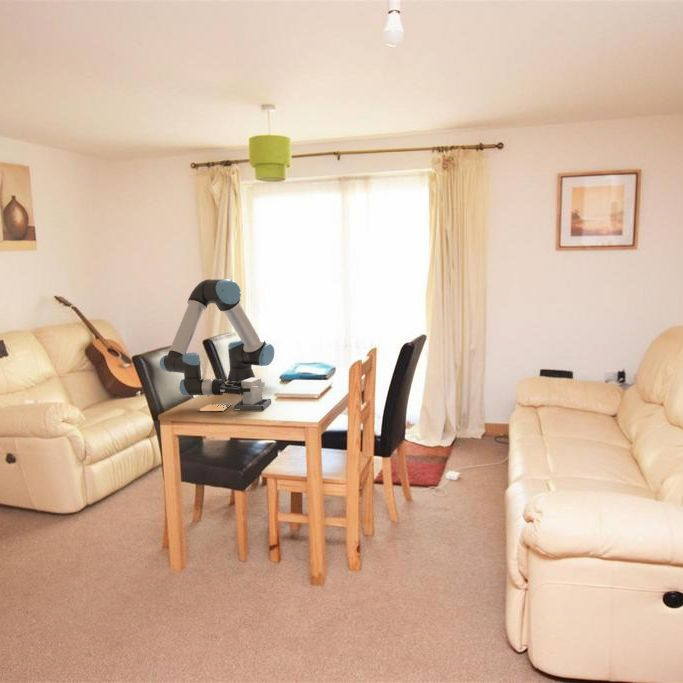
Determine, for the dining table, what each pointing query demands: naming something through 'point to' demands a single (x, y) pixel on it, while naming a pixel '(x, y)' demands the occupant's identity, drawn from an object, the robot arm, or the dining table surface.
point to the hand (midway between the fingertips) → (261, 386)
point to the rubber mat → (222, 404)
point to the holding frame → (264, 405)
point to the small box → (252, 397)
